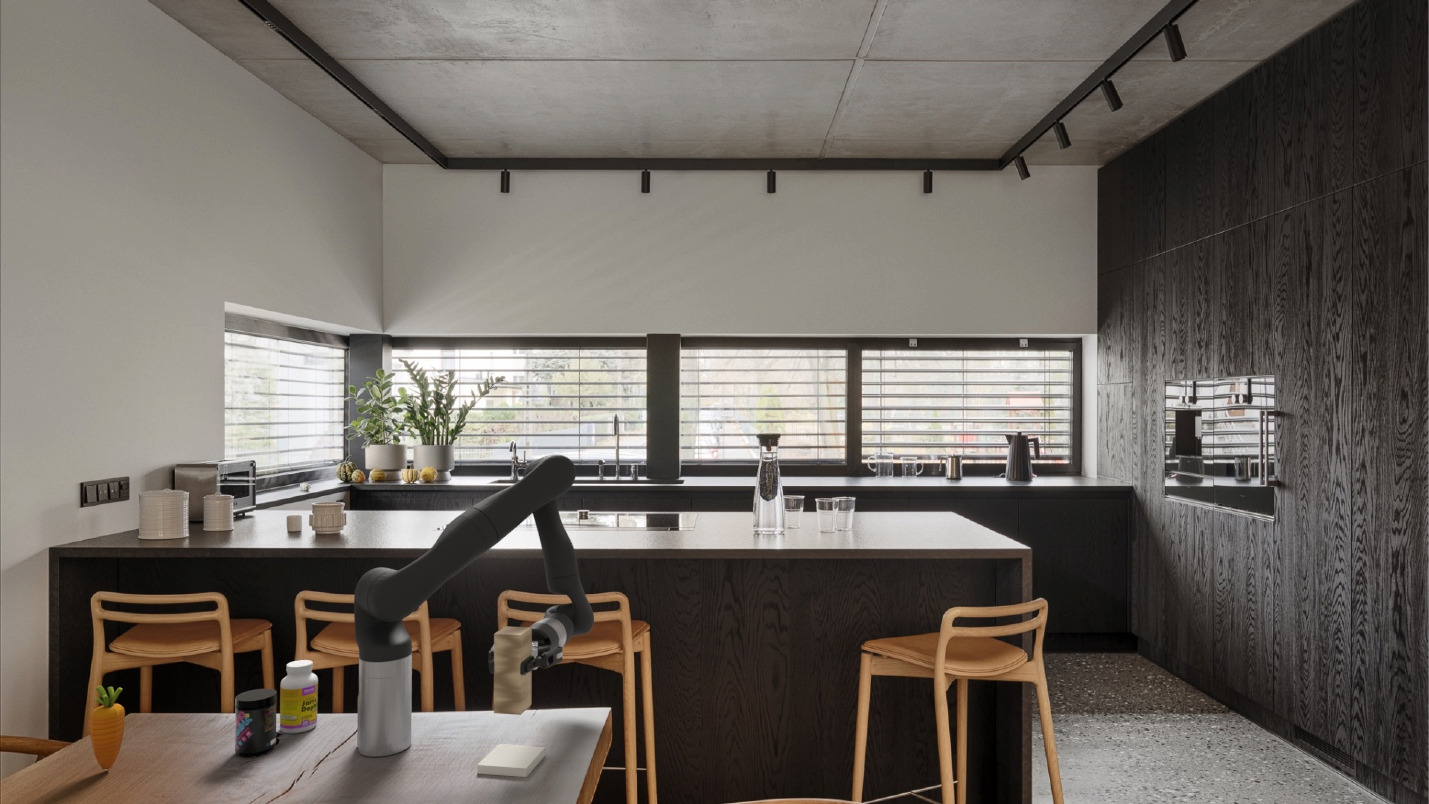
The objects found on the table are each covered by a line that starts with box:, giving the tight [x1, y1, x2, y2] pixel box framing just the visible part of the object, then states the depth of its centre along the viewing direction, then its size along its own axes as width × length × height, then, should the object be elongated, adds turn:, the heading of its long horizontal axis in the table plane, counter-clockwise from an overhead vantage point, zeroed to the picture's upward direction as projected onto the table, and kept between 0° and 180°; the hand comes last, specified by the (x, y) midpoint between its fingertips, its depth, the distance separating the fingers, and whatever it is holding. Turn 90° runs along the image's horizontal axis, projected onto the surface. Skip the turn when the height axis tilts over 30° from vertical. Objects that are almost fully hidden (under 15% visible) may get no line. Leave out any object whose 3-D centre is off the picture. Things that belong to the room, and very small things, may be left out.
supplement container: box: [234, 688, 278, 759], centre depth 150 cm, size 7×7×10 cm
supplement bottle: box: [279, 659, 319, 734], centre depth 161 cm, size 7×7×13 cm
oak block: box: [493, 626, 533, 716], centre depth 145 cm, size 5×5×14 cm
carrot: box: [89, 685, 126, 770], centre depth 141 cm, size 5×5×15 cm
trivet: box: [476, 743, 546, 778], centre depth 144 cm, size 9×9×2 cm
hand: (507, 668), depth 142 cm, fingers closed on oak block, 5 cm apart
